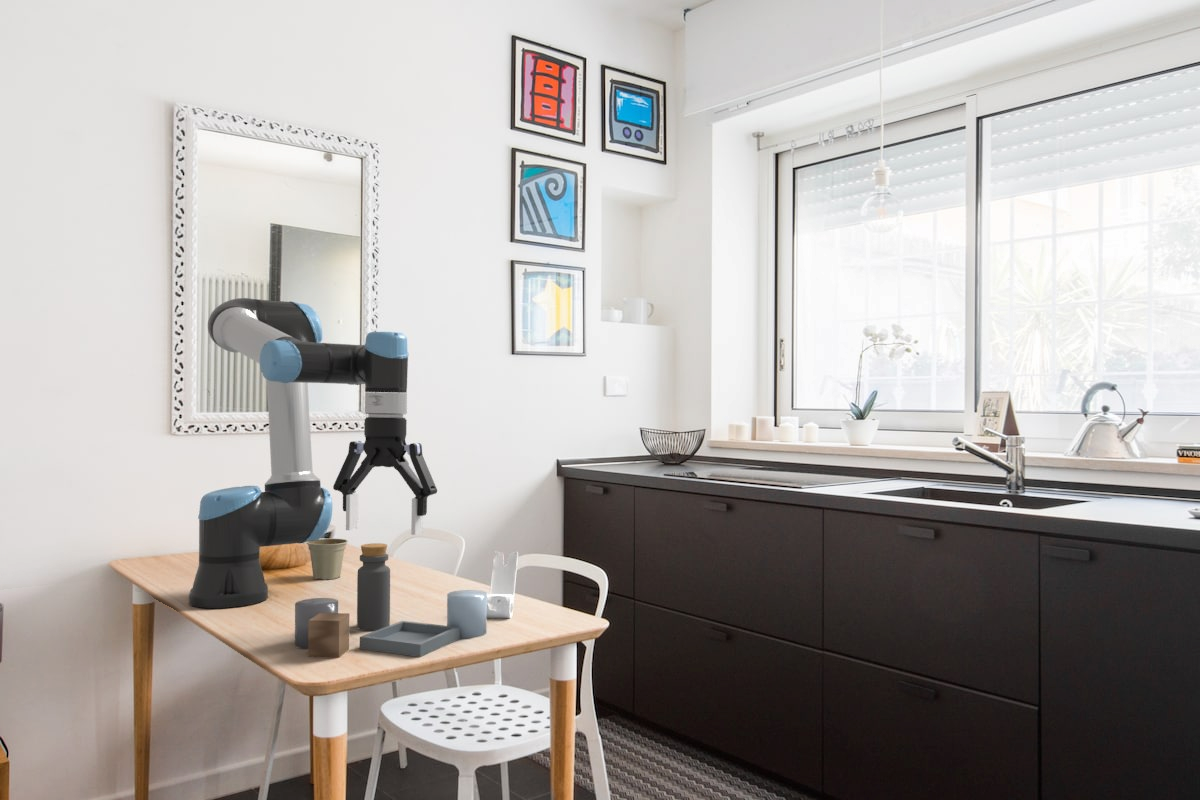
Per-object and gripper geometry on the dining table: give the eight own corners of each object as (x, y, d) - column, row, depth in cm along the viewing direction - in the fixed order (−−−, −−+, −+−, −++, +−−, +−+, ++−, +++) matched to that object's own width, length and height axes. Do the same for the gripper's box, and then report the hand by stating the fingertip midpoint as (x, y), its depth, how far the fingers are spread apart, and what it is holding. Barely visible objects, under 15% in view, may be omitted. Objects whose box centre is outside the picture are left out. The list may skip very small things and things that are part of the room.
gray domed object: (285, 646, 145) (286, 604, 145) (314, 636, 151) (314, 596, 151) (318, 650, 142) (319, 608, 142) (346, 640, 149) (346, 600, 149)
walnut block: (308, 657, 138) (308, 620, 138) (319, 649, 143) (319, 613, 143) (338, 658, 138) (339, 620, 138) (349, 649, 143) (349, 613, 143)
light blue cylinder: (439, 635, 152) (439, 596, 152) (460, 626, 159) (460, 588, 159) (473, 639, 149) (473, 599, 149) (493, 630, 156) (493, 591, 156)
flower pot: (356, 576, 206) (356, 540, 206) (324, 583, 198) (324, 545, 198) (329, 572, 211) (330, 537, 211) (297, 578, 203) (298, 542, 203)
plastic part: (470, 619, 165) (470, 558, 165) (482, 607, 175) (482, 550, 175) (509, 620, 164) (509, 559, 164) (518, 607, 174) (518, 550, 174)
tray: (359, 648, 143) (359, 636, 143) (402, 631, 154) (402, 620, 154) (420, 656, 139) (420, 644, 139) (459, 638, 150) (459, 627, 150)
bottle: (372, 632, 154) (373, 548, 154) (350, 627, 157) (350, 545, 157) (396, 625, 159) (397, 544, 159) (374, 621, 162) (374, 541, 162)
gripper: (315, 415, 158) (313, 530, 158) (436, 417, 151) (435, 538, 151) (338, 414, 165) (337, 524, 165) (456, 417, 158) (454, 532, 158)
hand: (383, 531), depth 158 cm, fingers open, 13 cm apart
